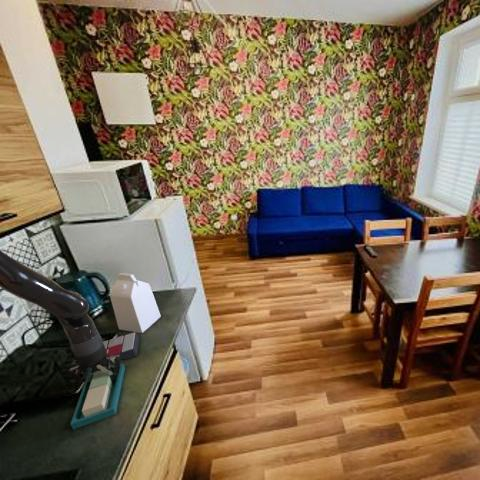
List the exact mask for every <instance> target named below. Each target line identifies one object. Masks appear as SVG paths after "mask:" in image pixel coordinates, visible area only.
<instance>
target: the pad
mask: <svg viewBox="0 0 480 480" xmlns="http://www.w3.org/2000/svg"><path fill="white" fill-rule="evenodd" d="M109 397H110V389H109V387H108V385H107V384H105V385H102V386H99V387H96V388H93V389H89V390H88V393H87V396H86V399H85V402H84V406H83V409H82V413H83V415H84V417H87V416H90V415H92V414H95V413H98V412H101V411H104V410H106V409H107V405H108V401H109Z"/></svg>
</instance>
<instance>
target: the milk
mask: <svg viewBox="0 0 480 480" xmlns="http://www.w3.org/2000/svg"><path fill="white" fill-rule="evenodd" d="M109 297H110V302H111V305H112V309H113V313H114V316H115V320H116V324H117V327H118V328H117V329H118V330H120V331H127V332H131V333H134V332H137V333H138V334H139V333H140V334H143V333H145V332H146V331H147V330H148V329H149V328H150V327H151V326H153V324H154V323H155V322H157V321H158V320H159V319H160V318H161V317H162V316H161V313H160V310H159V307H158V304H157V301H156V298H155V296H154V293H153V290H152V287H151V285H150V284H149V283H148V282H145V281H141V280H138V279H137V278H136V277H135V275H134V274H133V273H126V272H119V273H118V274H117V280H116V282H115V283H114V285H113V287H112V289H111V291H110V293H109Z"/></svg>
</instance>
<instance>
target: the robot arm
mask: <svg viewBox="0 0 480 480" xmlns="http://www.w3.org/2000/svg"><path fill="white" fill-rule="evenodd" d="M0 289H2V290H3V291H6V292H7V293H9V294H11V295H13V296H15V297H17V298H19V299H21V300H24V301H26V302H28V303H31V304H33V305H36V306H38V307H40V308H41V309H43V310H45V311H47V312H48V313H50V314H51V315H53V316H55V317H56V318H57V320H58V322H59V323H60V324H61V326H62V328H63V330H64V333H65V336H66V339H67V340H68V343H69V346H70V350H71V352H72V354H73V356H74V358H75V360H76V363H77V365H76V366H75V365H73V366H71V367H70V369H69V371H68V375H69V376H70V377H71V378H72V379H73V380H74V381H75V382H76V383H77V384H82V383H85V382H86V383H87V385H88V387H90V384H91V381H92V378H93V377H91V376H92V373H95V372H97V371H103V372H104V373H107V374H109V377H110V380H111V382H112V383H114V382H115V380H116V377H117V375H116V373H115V372H118V371H119V367H120V364H121V360H120V354H119V353H118V354H116V355H115V356H110V355H108V354H107V351H106V348H105V346H104V343H103V342H104V339H103V338H102V336H101V334H100V332H99V331H98V329H97V326H96V324H95V321H94V320H93V319H92V318H91V317H90V315H89V313H88V312H89V310H90V304H89V302H88V301H87V299H86V298H84V297H83V296H82V295H81V294H79V292H76V291H72V290H67V289H65V288H63V287H62V286H61V285H60V284H58V283H57V282H56V281H54V280H53V279H51V278H49V277H47V276H45V274H42V273H40V272H38V271H36V270H34V269H32V268H30V267H28V266H27V265H25V264H23V263H21V262H20V261H18V260H17V259H15V258H13V257H11V256H10V255H8V254H7V253H5V252H3V251H2V250H0ZM110 360H112V362H113V363H109V361H110ZM112 364H114V365H112ZM113 366H115V367H113ZM81 371H83V372H85V374H84V373H83V372H81Z"/></svg>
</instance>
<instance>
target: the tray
mask: <svg viewBox="0 0 480 480" xmlns="http://www.w3.org/2000/svg"><path fill="white" fill-rule="evenodd" d="M112 366H113V367H115V365H112ZM125 370H126V367H125V365H124V363H120V367H119V371H118V372H115V373H116V375H117V377H116V380H115V382H114V383H113V384H112V388H111V391H110V397H109V401H108V405H107V409H106V410H104V411H101V412H98V413H95V414H92V415H90V416H87V417H84V415H83V413H82V409H83V406H84V402H85V399H86V396H87V393H88V390H89V387H88V385H87V383H86V382H84V384H83V386H82V388H81V389H82V390H81V393H80V396H79V397H78V401H77V404H76V407H75V409H74V412H73V416H72V418H71V421H70V427H71V428H72V430H76V429H79V428H83V427H84V426H87V425H90V424H92V423H93V424H94V423H95V422H98V421H101V420H104V419H106V418H109V417H113V416H114V415H117V411H118V406H119V400H120V395H121V390H122V385H123V380H124V375H125ZM93 375H94V373H92V376H91V377H93Z"/></svg>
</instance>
